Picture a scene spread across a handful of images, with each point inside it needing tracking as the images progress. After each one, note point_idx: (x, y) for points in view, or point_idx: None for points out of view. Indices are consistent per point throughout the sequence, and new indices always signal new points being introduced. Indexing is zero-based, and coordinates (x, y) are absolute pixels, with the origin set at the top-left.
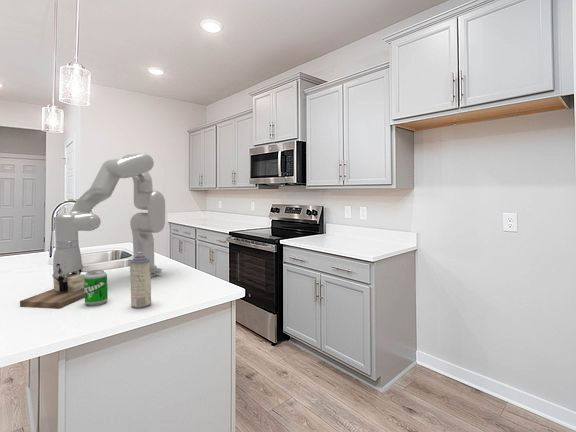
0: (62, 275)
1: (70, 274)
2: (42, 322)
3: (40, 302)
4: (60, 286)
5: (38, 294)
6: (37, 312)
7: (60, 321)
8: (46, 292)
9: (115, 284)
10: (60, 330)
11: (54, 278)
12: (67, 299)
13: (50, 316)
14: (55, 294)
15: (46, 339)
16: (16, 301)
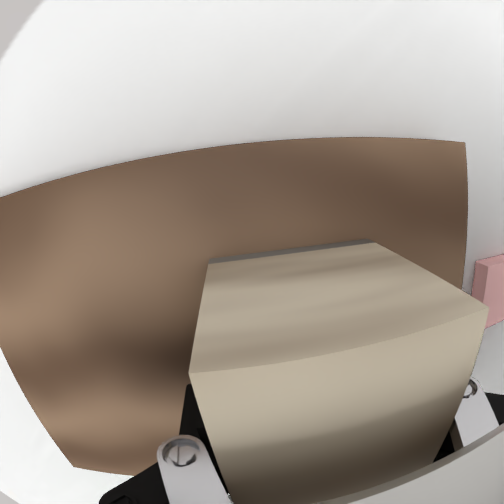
0: (365, 411)
1: (426, 438)
2: (6, 453)
3: (15, 373)
4: (186, 414)
5: (90, 176)
6: (6, 388)
7: (42, 487)
8: (167, 191)
9: (493, 375)
10: (30, 498)
11: (198, 375)
12: (123, 472)
13: (31, 453)
14: (151, 345)
15: (4, 489)
16: (48, 56)
